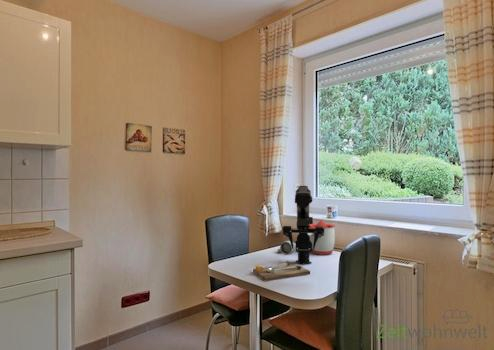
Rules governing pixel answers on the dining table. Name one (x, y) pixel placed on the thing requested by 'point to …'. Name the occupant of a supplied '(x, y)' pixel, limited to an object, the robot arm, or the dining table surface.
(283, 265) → the tong arm
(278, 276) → the tong board
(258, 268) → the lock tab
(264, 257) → the dining table surface
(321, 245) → the citrus juicer
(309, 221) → the robot arm
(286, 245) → the ceramic mug
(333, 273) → the dining table surface
